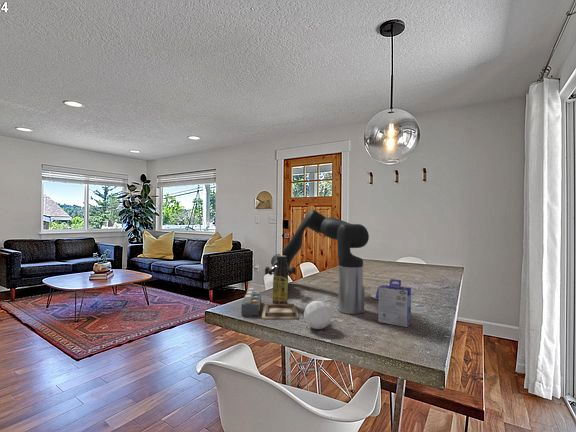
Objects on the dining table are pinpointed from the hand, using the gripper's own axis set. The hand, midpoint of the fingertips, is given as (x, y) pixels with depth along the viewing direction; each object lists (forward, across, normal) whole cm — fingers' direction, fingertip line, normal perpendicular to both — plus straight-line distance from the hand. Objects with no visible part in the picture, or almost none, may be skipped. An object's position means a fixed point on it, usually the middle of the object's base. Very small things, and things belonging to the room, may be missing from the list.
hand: (280, 273), depth 140 cm
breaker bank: (+17, -11, +11) cm, 23 cm away
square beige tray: (+23, 0, +11) cm, 25 cm away
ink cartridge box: (+34, +39, +11) cm, 53 cm away
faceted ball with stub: (+38, +13, +11) cm, 42 cm away
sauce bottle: (+10, 0, +11) cm, 15 cm away
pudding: (0, +47, +12) cm, 48 cm away
